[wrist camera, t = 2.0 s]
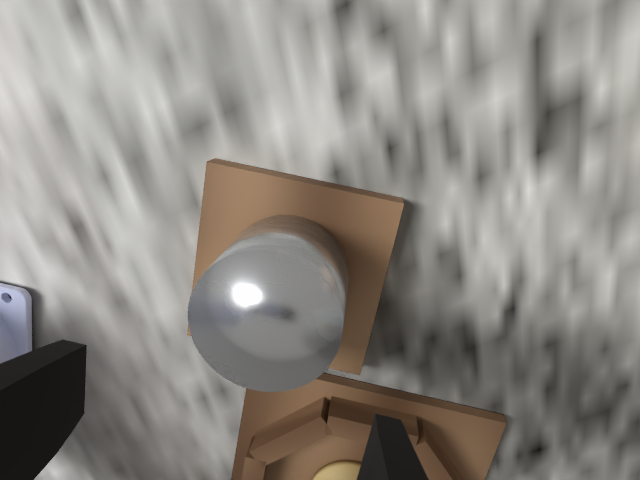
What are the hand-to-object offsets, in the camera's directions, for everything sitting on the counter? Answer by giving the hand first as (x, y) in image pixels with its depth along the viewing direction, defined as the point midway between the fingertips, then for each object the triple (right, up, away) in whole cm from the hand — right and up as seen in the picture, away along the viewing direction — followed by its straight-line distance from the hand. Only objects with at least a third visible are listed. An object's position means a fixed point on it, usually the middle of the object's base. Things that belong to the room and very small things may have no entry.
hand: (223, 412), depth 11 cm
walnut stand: (+1, +3, +9) cm, 10 cm away
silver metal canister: (+1, +3, +8) cm, 9 cm away
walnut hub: (+4, -8, +13) cm, 16 cm away
